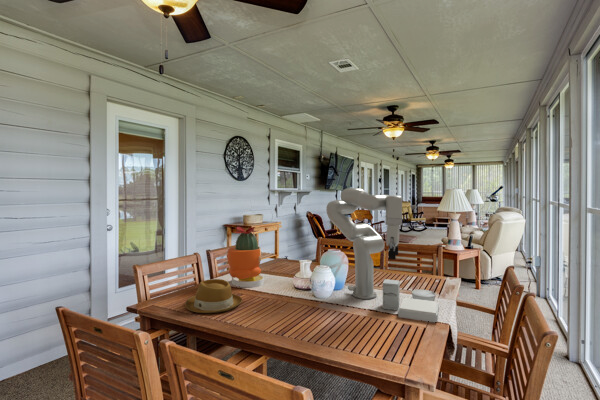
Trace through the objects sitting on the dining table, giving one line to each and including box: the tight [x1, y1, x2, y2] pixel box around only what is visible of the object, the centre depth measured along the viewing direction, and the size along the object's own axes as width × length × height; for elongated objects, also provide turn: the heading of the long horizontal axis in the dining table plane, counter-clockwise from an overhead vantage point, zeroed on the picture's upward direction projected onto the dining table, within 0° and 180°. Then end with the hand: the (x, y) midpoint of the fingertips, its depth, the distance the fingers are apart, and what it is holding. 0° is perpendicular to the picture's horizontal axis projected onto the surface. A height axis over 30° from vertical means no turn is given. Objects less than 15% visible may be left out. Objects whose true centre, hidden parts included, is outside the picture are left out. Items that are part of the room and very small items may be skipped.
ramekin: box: [411, 289, 437, 301], centre depth 165 cm, size 11×11×5 cm
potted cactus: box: [226, 226, 265, 288], centre depth 202 cm, size 22×22×35 cm
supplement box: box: [382, 278, 401, 311], centre depth 160 cm, size 7×7×13 cm
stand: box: [397, 297, 440, 323], centre depth 152 cm, size 16×16×4 cm
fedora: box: [184, 278, 243, 314], centre depth 167 cm, size 27×29×12 cm
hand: (393, 257), depth 160 cm, fingers open, 9 cm apart
